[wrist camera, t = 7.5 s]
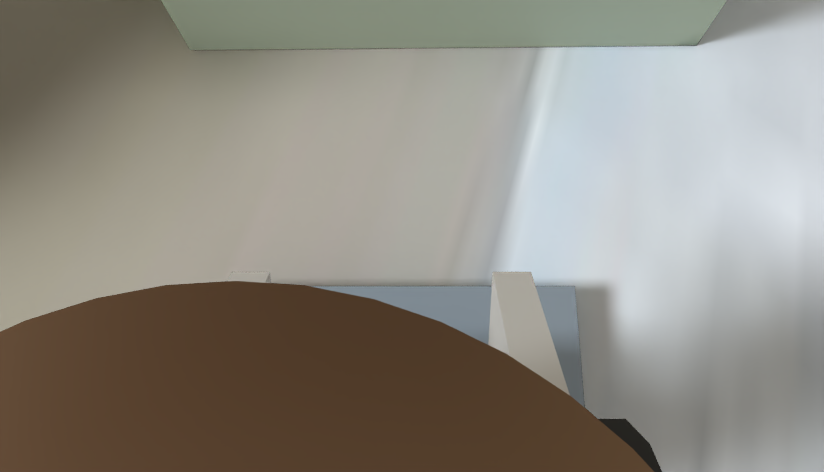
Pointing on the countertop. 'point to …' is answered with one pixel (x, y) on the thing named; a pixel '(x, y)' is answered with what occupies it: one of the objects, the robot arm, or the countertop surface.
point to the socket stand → (488, 316)
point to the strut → (279, 390)
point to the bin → (439, 23)
